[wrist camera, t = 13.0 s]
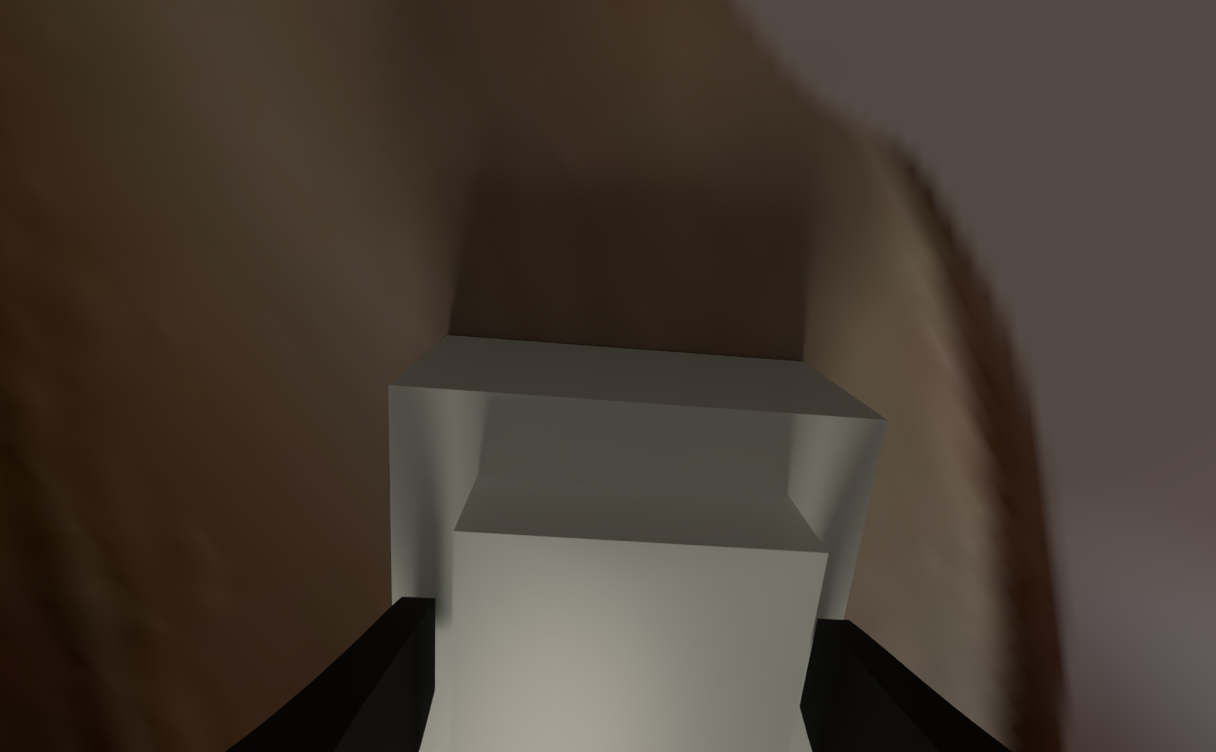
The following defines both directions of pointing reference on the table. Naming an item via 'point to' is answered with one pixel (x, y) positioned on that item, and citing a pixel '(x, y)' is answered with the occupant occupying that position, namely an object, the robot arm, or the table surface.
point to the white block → (623, 541)
